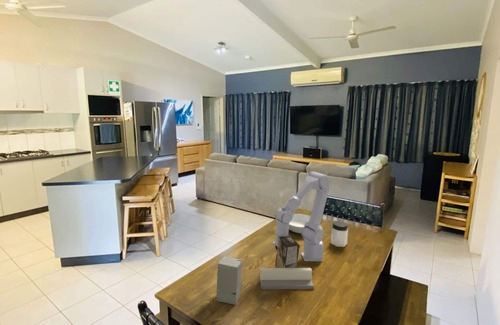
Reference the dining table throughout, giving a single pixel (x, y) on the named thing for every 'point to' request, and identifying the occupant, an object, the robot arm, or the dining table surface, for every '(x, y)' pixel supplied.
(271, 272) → the board
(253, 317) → the dining table surface
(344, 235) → the jar
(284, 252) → the coffee box
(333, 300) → the dining table surface
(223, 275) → the skincare box
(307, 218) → the serving bowl
